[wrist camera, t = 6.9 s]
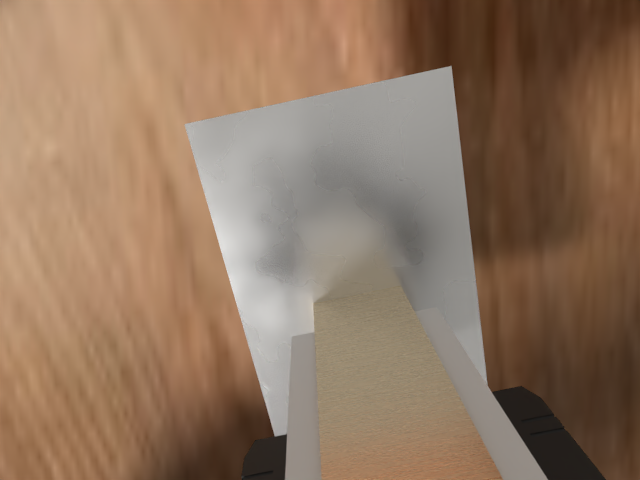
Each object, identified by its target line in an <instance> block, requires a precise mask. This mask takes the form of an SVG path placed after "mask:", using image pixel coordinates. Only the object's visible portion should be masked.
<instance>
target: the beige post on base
mask: <svg viewBox="0 0 640 480" xmlns="http://www.w3.org/2000/svg"><path fill="white" fill-rule="evenodd" d="M185 128H186V131H187V134H188V138H189V141H190V145H191V148H192V152H193V155H194V159H195V162H196V165H197V169H198V172H199V176H200V179H201V183H202V186H203V190H204V193H205V197H206V200H207V203H208V207H209V210H210V214H211V217H212V221H213V224H214V228H215V231H216V235H217V238H218V241H219V245H220V248H221V252H222V255H223V259H224V262H225V266H226V269H227V272H228V276H229V279H230V283H231V286H232V290H233V293H234V297H235V300H236V304H237V307H238V310H239V314H240V317H241V321H242V324H243V328H244V331H245V335H246V338H247V342H248V345H249V348H250V352H251V355H252V359H253V362H254V366H255V369H256V373H257V376H258V379H259V383H260V386H261V390H262V393H263V397H264V400H265V404H266V407H267V411H268V414H269V417H270V421H271V424H272V428H273V431H274V435H275V436H280V435H285V434H287V427H288V406H289V384H290V363H291V342H292V336H297V335H302V334H307V333H312V332H315V352H316V373H317V393H318V414H319V435H320V455H321V476H322V480H503V478H502V477H501V475H500V473H499V471H498V469H497V467H496V465H495V463H494V461H493V459H492V458H491V456H490V454H489V452H488V450H487V448H486V446H485V444H484V442H483V441H482V439H481V437H480V435H479V433H478V431H477V429H476V427H475V425H474V423H473V422H472V420H471V418H470V416H469V414H468V412H467V410H466V408H465V406H464V404H463V403H462V401H461V399H460V397H459V395H458V393H457V391H456V389H455V387H454V385H453V384H452V382H451V380H450V378H449V376H448V374H447V372H446V370H445V368H444V366H443V365H442V363H441V361H440V359H439V357H438V355H437V353H436V351H435V349H434V347H433V346H432V344H431V342H430V340H429V338H428V336H427V334H426V332H425V330H424V328H423V327H422V325H421V323H420V321H419V319H418V317H417V315H416V313H415V311H420V310H424V309H429V308H434V307H437V308H438V309H439V311H440V313H441V314H442V316H443V317H444V319H445V320H446V322H447V323H448V325H449V327H450V328H451V330H452V331H453V333H454V334H455V336H456V337H457V339H458V341H459V342H460V344H461V345H462V347H463V348H464V350H465V351H466V353H467V355H468V356H469V358H470V359H471V361H472V362H473V364H474V365H475V367H476V369H477V370H478V372H479V373H480V375H481V376H482V378H483V379H484V381H485V383H486V384H487V376H486V367H485V358H484V349H483V340H482V332H481V323H480V314H479V305H478V296H477V287H476V278H475V270H474V261H473V252H472V243H471V234H470V225H469V216H468V208H467V199H466V190H465V181H464V172H463V163H462V155H461V146H460V137H459V128H458V119H457V110H456V101H455V93H454V84H453V75H452V66H449V67H444V68H440V69H435V70H430V71H426V72H421V73H417V74H412V75H408V76H403V77H398V78H394V79H389V80H385V81H380V82H376V83H371V84H366V85H362V86H357V87H353V88H348V89H344V90H339V91H334V92H330V93H325V94H321V95H316V96H312V97H307V98H302V99H298V100H293V101H289V102H284V103H279V104H275V105H270V106H266V107H261V108H257V109H252V110H247V111H243V112H238V113H234V114H229V115H225V116H220V117H215V118H211V119H206V120H202V121H197V122H193V123H188V124H185ZM487 386H488V385H487Z"/></svg>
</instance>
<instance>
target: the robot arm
mask: <svg viewBox="0 0 640 480" xmlns="http://www.w3.org/2000/svg"><path fill="white" fill-rule="evenodd" d="M415 313H416V315H417V317H418V319H419V321H420V323H421V325H422V327H423V328H424V330H425V332H426V334H427V336H428V338H429V340H430V342H431V344H432V346H433V347H434V349H435V351H436V353H437V355H438V357H439V359H440V361H441V363H442V365H443V366H444V368H445V370H446V372H447V374H448V376H449V378H450V380H451V382H452V384H453V385H454V387H455V389H456V391H457V393H458V395H459V397H460V399H461V401H462V403H463V404H464V406H465V408H466V410H467V412H468V414H469V416H470V418H471V420H472V422H473V423H474V425H475V427H476V429H477V431H478V433H479V435H480V437H481V439H482V441H483V442H484V444H485V446H486V448H487V450H488V452H489V454H490V456H491V458H492V459H493V461H494V463H495V465H496V467H497V469H498V471H499V473H500V475H501V477H502V478H503V480H606V479H605V478H604V477H603V476H602V474H601V473H600V472H599V471H598V469H597V468H596V467H595V466H594V464H593V463H592V462H591V460H590V459H589V458H588V457H587V455H586V454H585V453H584V452H583V450H582V449H581V448H580V447H579V445H578V444H577V443H576V442H575V440H574V439H573V438H572V437H571V435H570V434H569V433H568V432H567V431H565V429H564V426H563V425H562V424H561V423H560V421H559V420H558V419H557V418H556V417H554V414H553V413H552V411H551V410H550V409H549V408H548V406H547V405H546V404H545V403H544V401H543V400H542V399H541V398H540V397H538V396H537V395H535V394H534V393H532V392H530V391H529V390H527V389H525V388H524V387H522V386H520V387H515V388H510V389H505V390H500V391H495V392H491V390H490V389H489V387H488V386H487V384H486V383H485V381H484V379H483V378H482V376H481V375H480V373H479V372H478V370H477V369H476V367H475V365H474V364H473V362H472V361H471V359H470V358H469V356H468V355H467V353H466V351H465V350H464V348H463V347H462V345H461V344H460V342H459V341H458V339H457V337H456V336H455V334H454V333H453V331H452V330H451V328H450V327H449V325H448V323H447V322H446V320H445V319H444V317H443V316H442V314H441V313H440V311H439V309H438V308H437V307H434V308H429V309H424V310H420V311H415ZM241 477H242V480H322V476H321V455H320V435H319V414H318V393H317V373H316V352H315V332H312V333H307V334H302V335H297V336H292V342H291V363H290V384H289V406H288V427H287V434H285V435H280V436H275V437H270V438H265V439H260V440H255V442H254V443H253V445H252V446H251V448H250V450H249V451H248V453H247V455H246V456H245V458H244V464H243V470H242V476H241Z"/></svg>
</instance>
